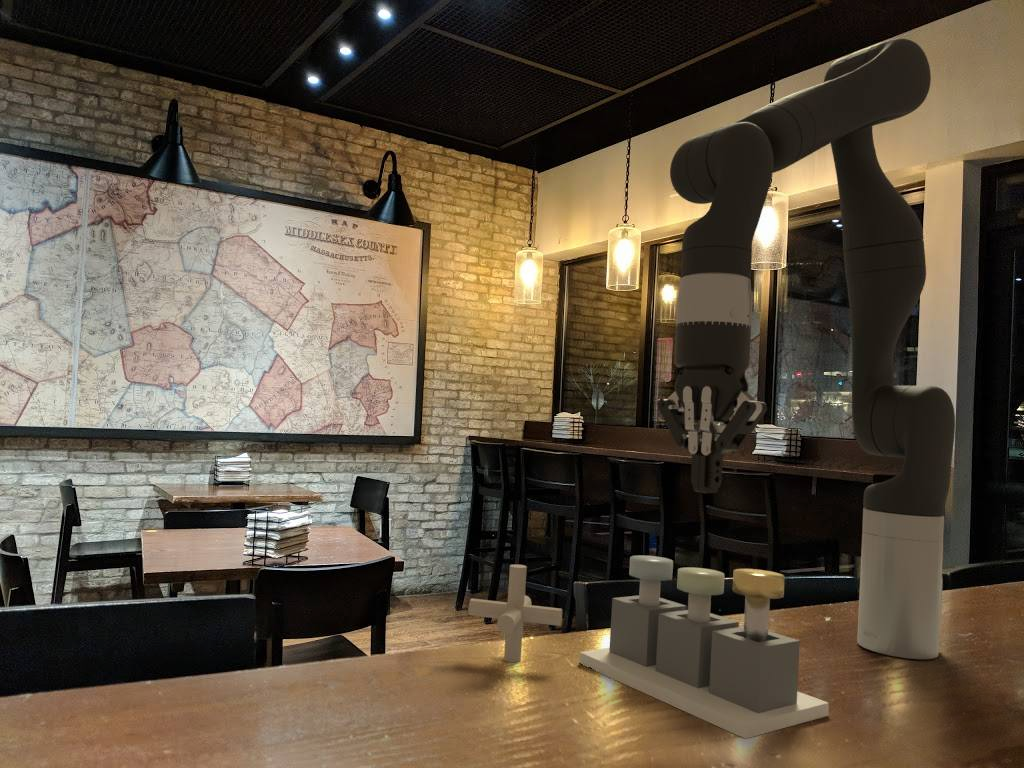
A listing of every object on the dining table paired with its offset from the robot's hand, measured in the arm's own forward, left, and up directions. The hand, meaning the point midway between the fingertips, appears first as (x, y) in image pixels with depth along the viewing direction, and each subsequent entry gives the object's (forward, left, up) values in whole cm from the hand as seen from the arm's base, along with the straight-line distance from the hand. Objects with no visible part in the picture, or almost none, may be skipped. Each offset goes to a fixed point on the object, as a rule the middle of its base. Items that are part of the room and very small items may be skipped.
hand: (705, 491), depth 81 cm
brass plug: (0, +7, -15) cm, 17 cm away
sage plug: (0, 0, -16) cm, 16 cm away
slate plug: (0, -7, -16) cm, 18 cm away
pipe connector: (+12, -15, -20) cm, 28 cm away
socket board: (0, 0, -20) cm, 20 cm away
